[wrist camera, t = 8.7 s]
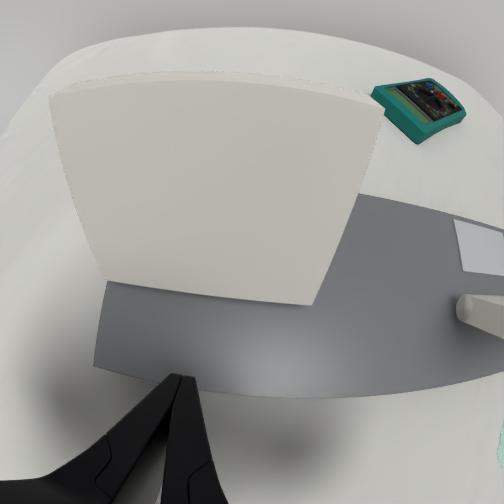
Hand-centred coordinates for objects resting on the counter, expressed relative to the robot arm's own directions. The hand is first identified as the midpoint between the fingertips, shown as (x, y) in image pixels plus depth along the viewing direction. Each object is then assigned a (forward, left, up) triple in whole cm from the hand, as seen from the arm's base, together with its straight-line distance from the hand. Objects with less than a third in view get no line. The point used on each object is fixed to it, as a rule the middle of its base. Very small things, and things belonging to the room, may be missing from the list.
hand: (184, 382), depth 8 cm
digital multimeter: (+8, -33, -7) cm, 35 cm away
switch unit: (-2, -11, -7) cm, 13 cm away
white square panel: (+3, -3, -4) cm, 6 cm away
